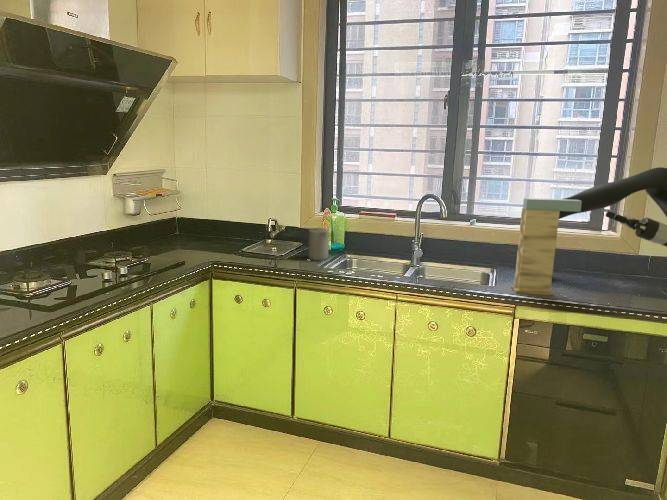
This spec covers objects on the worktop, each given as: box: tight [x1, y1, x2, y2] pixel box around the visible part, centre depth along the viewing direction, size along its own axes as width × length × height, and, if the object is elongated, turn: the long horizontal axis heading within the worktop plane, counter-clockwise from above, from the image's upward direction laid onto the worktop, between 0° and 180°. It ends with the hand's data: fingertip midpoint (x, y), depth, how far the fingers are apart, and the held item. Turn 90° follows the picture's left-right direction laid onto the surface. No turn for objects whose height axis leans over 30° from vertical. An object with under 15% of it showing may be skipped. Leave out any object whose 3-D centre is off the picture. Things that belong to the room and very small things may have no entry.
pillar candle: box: [307, 227, 330, 261], centre depth 251 cm, size 10×10×15 cm
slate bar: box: [522, 197, 582, 212], centre depth 198 cm, size 4×20×4 cm, turn 87°
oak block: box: [510, 207, 560, 296], centre depth 202 cm, size 8×14×32 cm, turn 87°
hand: (610, 215), depth 193 cm, fingers open, 8 cm apart
